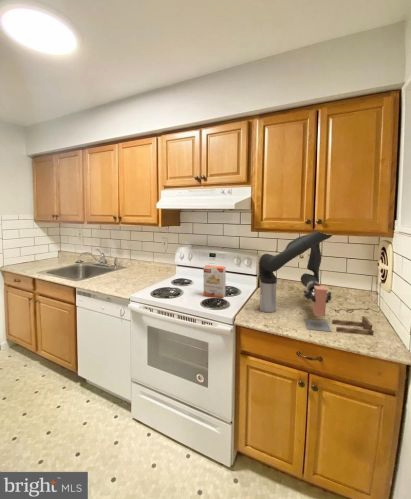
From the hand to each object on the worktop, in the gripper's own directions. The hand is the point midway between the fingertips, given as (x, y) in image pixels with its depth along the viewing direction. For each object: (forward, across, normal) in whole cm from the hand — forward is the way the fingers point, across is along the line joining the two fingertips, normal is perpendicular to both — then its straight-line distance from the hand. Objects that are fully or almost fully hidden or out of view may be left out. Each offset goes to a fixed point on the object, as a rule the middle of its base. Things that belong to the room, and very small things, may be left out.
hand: (320, 300), depth 127 cm
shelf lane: (-2, +16, +15) cm, 22 cm away
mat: (-2, 0, +14) cm, 15 cm away
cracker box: (-32, -60, +14) cm, 70 cm away
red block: (-3, 0, +8) cm, 8 cm away
